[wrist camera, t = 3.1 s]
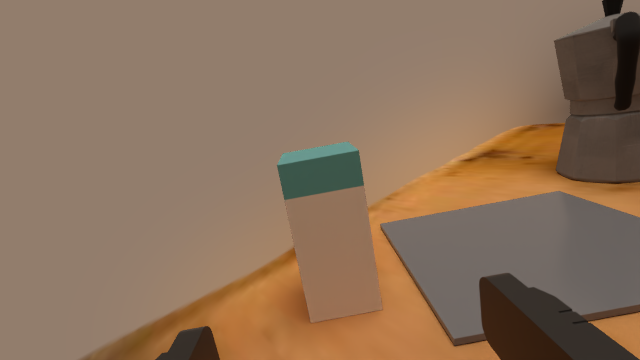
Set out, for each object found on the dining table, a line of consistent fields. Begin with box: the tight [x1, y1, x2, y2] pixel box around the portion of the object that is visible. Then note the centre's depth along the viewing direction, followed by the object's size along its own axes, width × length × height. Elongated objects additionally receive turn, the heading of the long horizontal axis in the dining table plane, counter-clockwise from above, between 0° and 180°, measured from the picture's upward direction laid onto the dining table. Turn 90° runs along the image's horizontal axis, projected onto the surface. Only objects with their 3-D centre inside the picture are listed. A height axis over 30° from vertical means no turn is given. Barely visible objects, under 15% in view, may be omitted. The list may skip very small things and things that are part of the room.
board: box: [380, 191, 640, 346], centre depth 24 cm, size 18×16×1 cm
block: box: [277, 142, 383, 323], centre depth 21 cm, size 4×4×10 cm
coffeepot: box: [554, 0, 640, 183], centre depth 32 cm, size 15×9×18 cm, turn 146°
